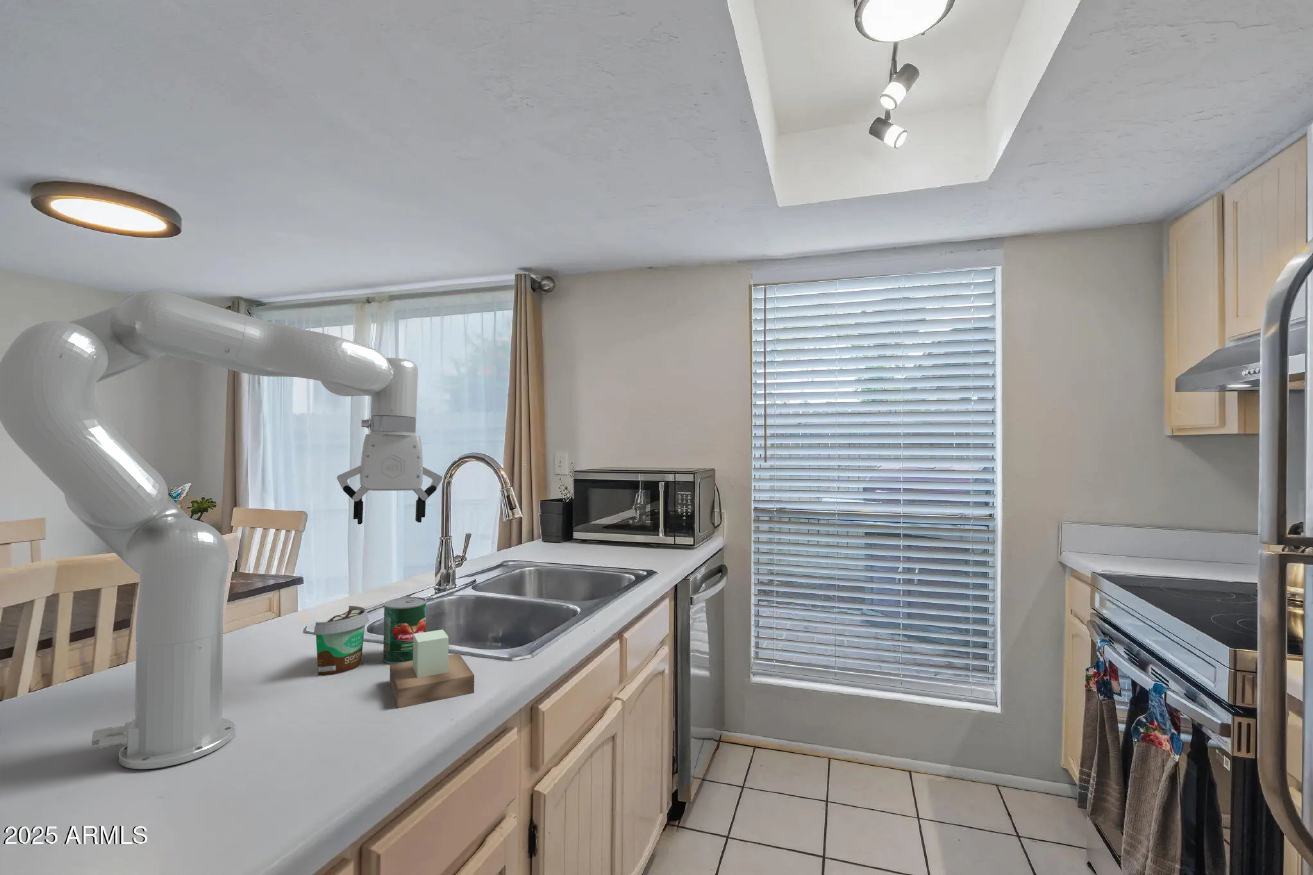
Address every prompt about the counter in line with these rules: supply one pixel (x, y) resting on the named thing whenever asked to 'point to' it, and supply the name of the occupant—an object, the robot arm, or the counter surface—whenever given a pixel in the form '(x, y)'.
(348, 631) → the food container
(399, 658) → the canned tomato
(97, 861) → the counter surface
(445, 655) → the sage block
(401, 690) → the walnut base
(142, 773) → the counter surface
